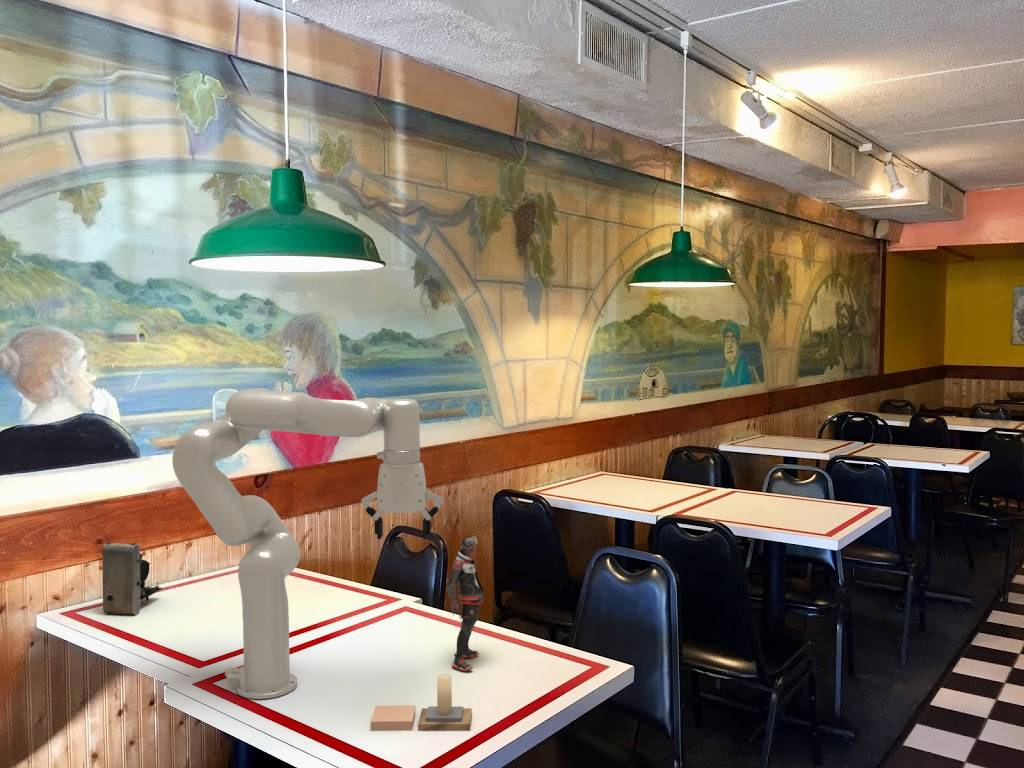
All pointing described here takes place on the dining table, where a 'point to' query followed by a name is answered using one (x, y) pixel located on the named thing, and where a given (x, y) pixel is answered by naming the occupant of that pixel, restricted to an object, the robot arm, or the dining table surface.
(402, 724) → the tile
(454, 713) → the float
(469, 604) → the action figure
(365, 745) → the dining table surface
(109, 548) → the vintage camera
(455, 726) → the board
